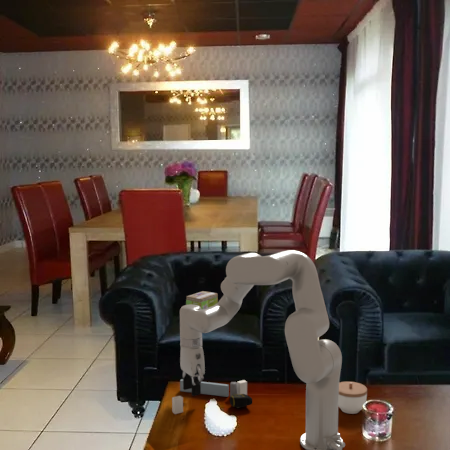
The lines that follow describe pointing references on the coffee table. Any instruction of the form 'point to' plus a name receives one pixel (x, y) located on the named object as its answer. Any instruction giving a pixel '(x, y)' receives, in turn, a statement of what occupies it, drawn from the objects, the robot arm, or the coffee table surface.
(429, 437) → the coffee table surface
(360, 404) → the lidded jar
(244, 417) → the coffee table surface
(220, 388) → the long grey bar
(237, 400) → the tape measure
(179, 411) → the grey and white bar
